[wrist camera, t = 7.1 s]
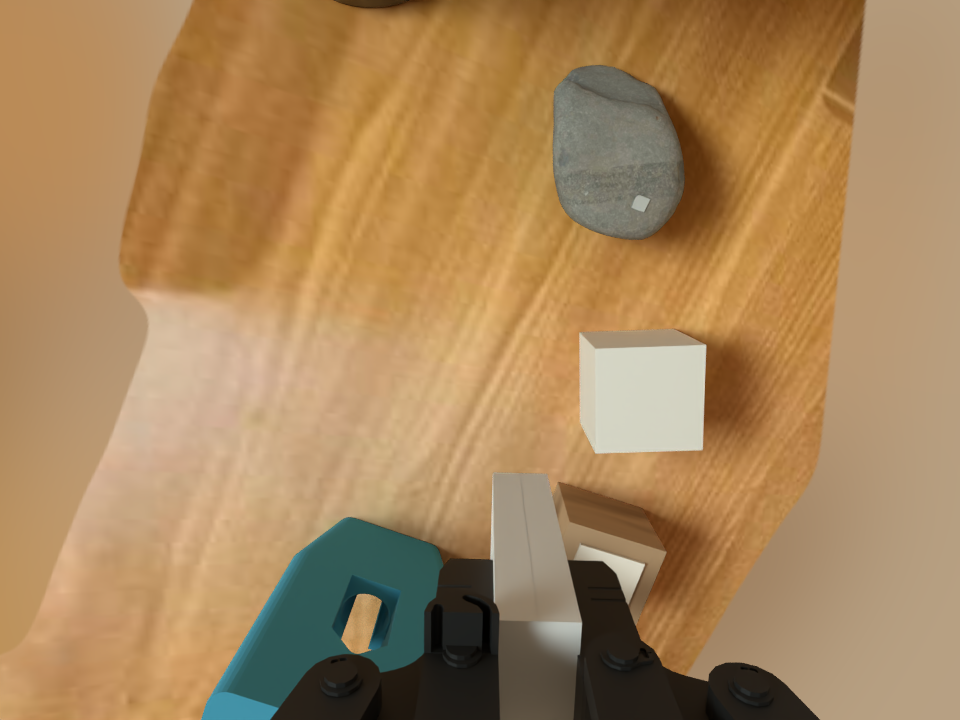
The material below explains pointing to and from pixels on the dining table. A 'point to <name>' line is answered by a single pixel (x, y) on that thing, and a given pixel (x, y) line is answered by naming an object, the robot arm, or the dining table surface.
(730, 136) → the dining table surface
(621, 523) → the marked block
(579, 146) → the stone
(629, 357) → the plain block
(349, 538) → the block
